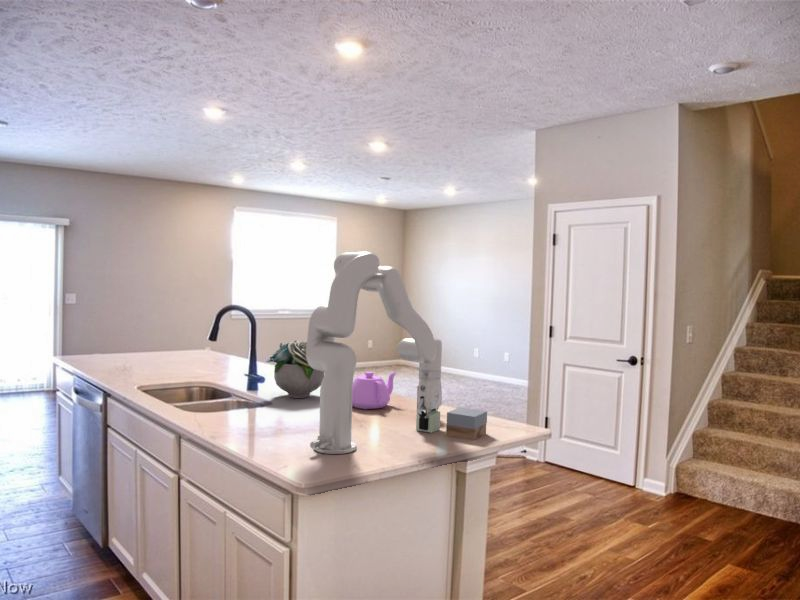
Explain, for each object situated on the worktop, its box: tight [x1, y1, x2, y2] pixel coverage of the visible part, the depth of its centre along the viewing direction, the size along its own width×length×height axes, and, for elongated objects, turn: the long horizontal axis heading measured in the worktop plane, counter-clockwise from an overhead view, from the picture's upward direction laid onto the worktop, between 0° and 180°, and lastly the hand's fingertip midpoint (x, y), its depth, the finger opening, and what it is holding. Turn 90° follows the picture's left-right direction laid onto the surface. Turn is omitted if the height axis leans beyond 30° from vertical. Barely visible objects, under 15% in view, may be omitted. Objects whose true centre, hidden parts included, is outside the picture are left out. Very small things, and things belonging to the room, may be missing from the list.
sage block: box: [415, 410, 441, 433], centre depth 198 cm, size 6×6×6 cm
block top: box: [446, 406, 488, 429], centre depth 193 cm, size 10×10×4 cm
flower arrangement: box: [266, 340, 325, 399], centre depth 249 cm, size 25×25×24 cm
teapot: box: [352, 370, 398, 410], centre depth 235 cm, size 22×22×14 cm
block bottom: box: [445, 423, 487, 441], centre depth 193 cm, size 10×10×4 cm
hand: (428, 427), depth 198 cm, fingers closed on sage block, 6 cm apart
